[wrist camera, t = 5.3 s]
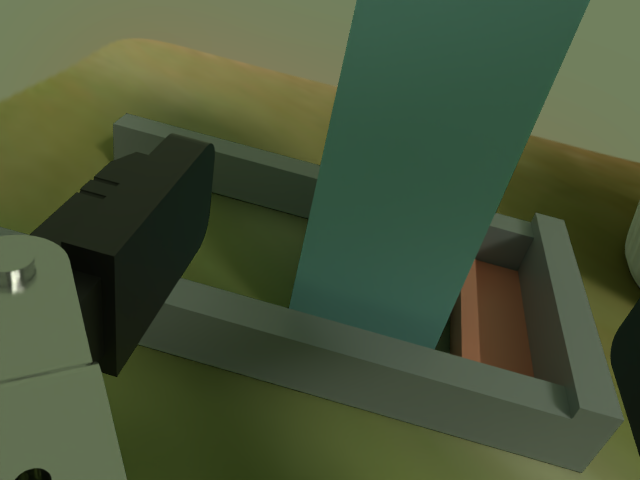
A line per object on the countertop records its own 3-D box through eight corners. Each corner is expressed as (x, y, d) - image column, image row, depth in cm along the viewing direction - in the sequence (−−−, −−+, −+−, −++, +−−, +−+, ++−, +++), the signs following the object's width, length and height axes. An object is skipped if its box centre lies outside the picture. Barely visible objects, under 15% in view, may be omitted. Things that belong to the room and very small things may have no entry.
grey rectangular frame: (539, 266, 25) (564, 220, 24) (581, 472, 17) (624, 420, 15) (126, 153, 26) (126, 102, 25) (-30, 295, 18) (-44, 230, 16)
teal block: (433, 274, 23) (592, -125, 15) (428, 362, 19) (642, -118, 11) (314, 241, 24) (411, -169, 16) (285, 322, 20) (395, -177, 12)
